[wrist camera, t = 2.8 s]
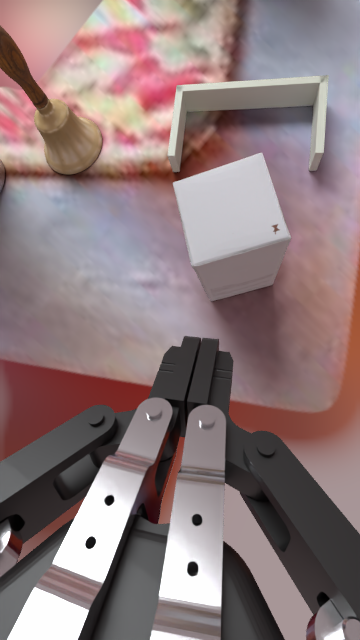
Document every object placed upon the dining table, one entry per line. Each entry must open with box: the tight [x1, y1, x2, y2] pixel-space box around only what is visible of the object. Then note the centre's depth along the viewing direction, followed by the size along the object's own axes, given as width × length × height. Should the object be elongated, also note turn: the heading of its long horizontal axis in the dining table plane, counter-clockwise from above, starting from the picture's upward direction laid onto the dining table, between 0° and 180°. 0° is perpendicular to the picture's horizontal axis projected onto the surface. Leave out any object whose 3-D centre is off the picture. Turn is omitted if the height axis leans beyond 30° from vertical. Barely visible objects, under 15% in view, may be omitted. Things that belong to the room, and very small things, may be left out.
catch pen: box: [168, 75, 328, 172], centre depth 35 cm, size 9×17×3 cm, turn 83°
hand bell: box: [0, 26, 102, 174], centre depth 33 cm, size 8×8×16 cm
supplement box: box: [173, 153, 291, 301], centre depth 28 cm, size 7×7×13 cm
